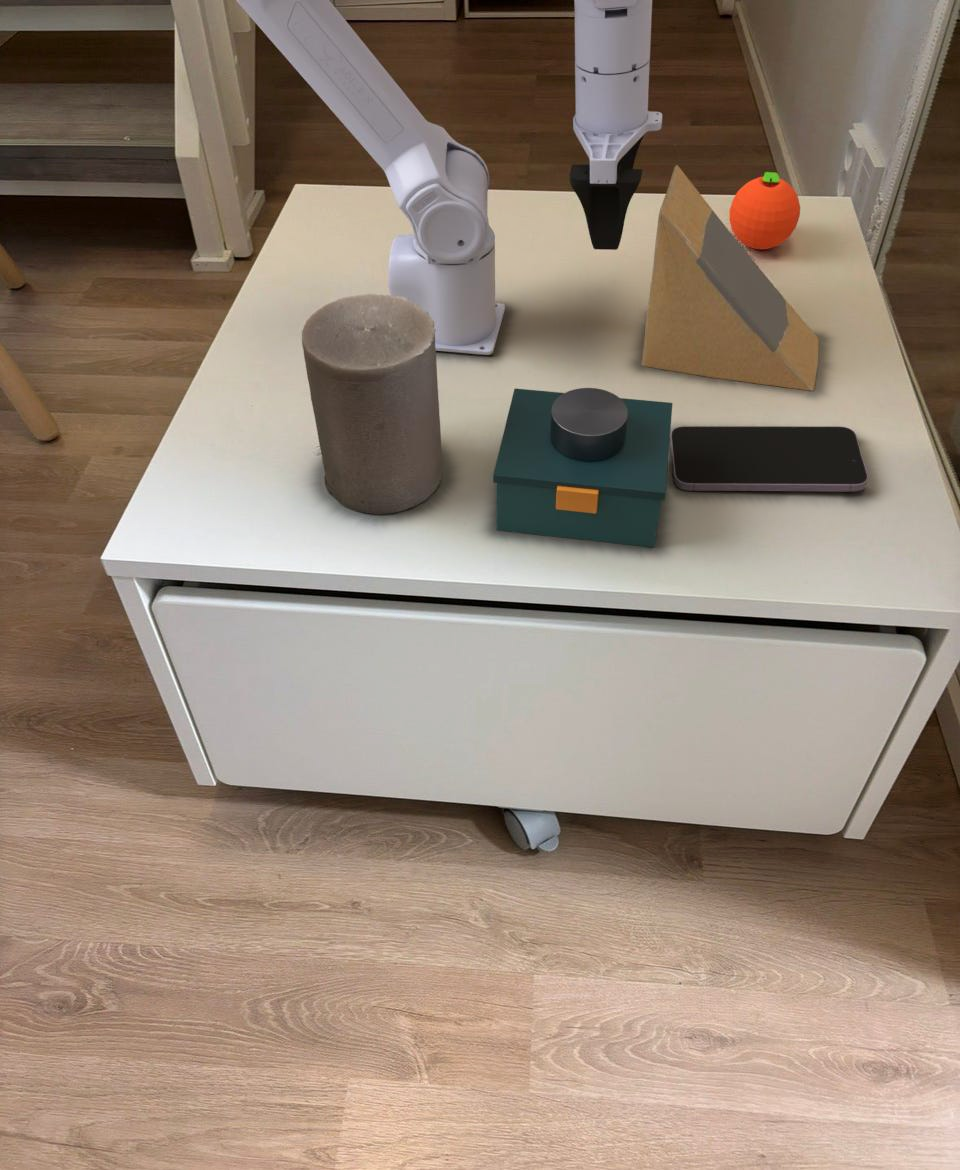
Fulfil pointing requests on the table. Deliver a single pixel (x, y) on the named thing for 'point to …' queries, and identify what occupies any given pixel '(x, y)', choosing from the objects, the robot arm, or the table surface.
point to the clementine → (764, 212)
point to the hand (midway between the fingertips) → (609, 224)
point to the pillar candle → (375, 401)
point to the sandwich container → (719, 303)
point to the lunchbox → (582, 476)
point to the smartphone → (767, 458)
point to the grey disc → (588, 424)
